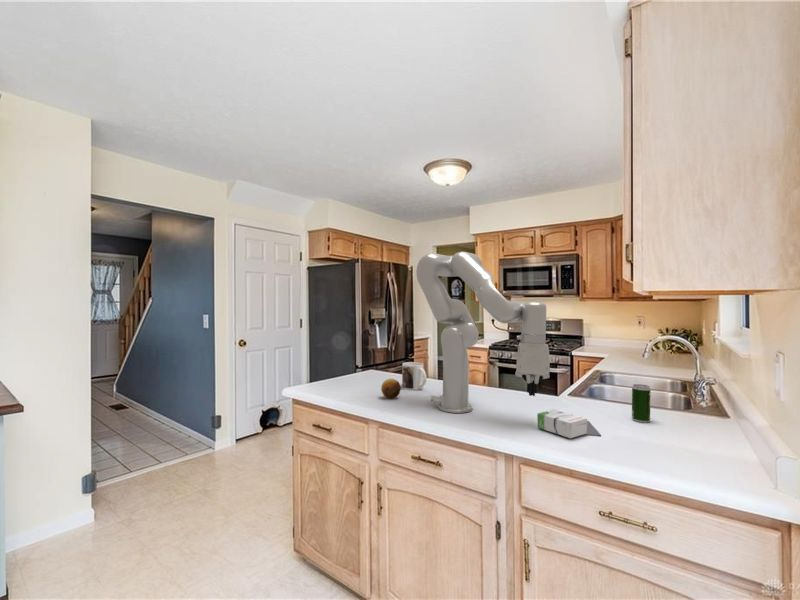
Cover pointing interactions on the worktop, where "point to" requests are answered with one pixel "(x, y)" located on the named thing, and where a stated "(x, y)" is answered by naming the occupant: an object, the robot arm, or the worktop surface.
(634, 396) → the beer can
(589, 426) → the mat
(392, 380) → the fruit
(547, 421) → the ink box
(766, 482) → the worktop surface
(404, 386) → the mug
